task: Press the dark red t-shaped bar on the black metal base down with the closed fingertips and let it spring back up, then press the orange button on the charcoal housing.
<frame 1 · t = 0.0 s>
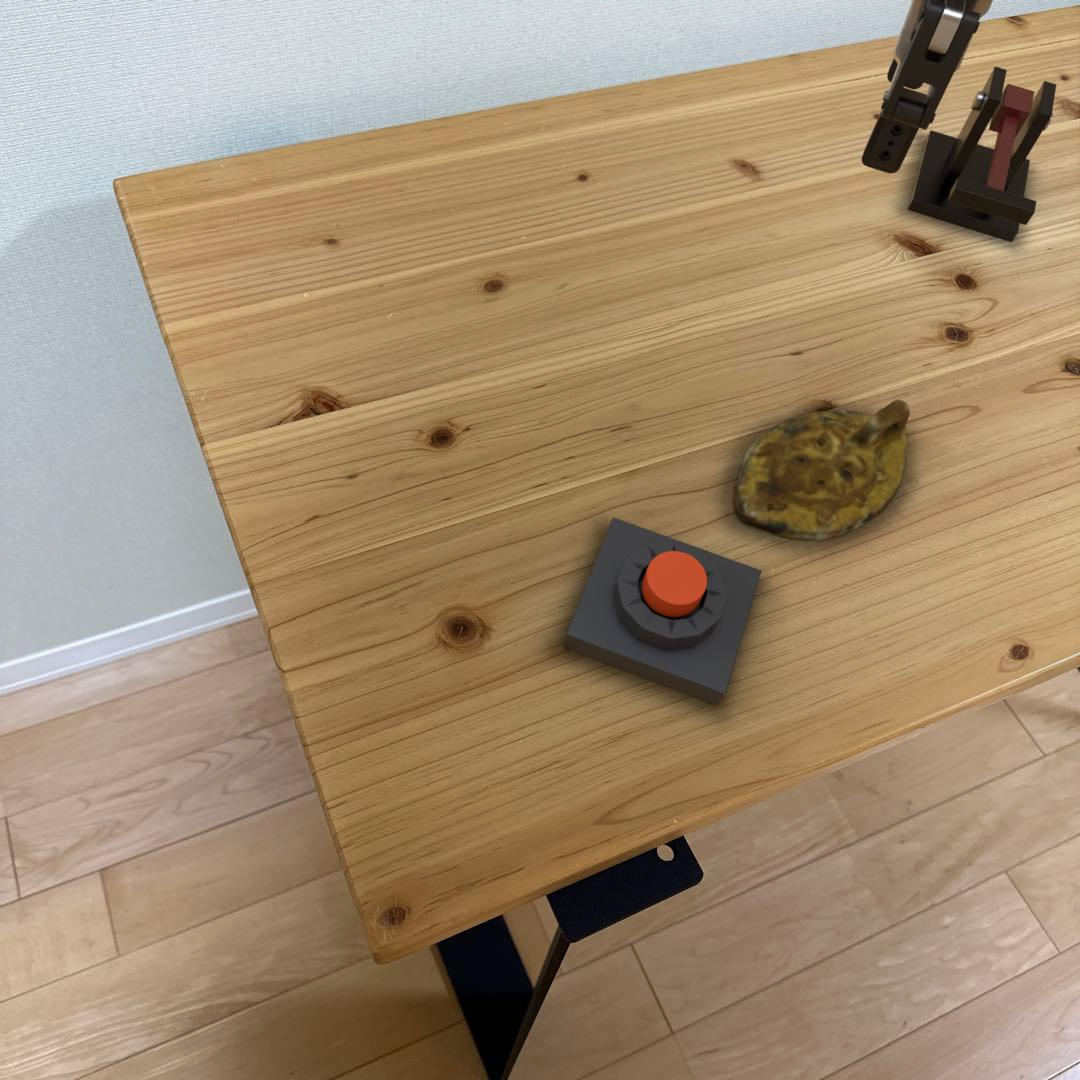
hand: (891, 122, 58), 19 cm above the table, tool pointing down, fingers open, 8 cm apart
button: (674, 584, 58), point 4 cm above the table, slide at 0.1 cm
olive oval piece: (818, 478, 69), on the table
dark red t-shaped bar: (1002, 151, 76), point 8 cm above the table, hinge at -2.7°
button box: (660, 616, 62), on the table
stapler base: (966, 191, 85), on the table
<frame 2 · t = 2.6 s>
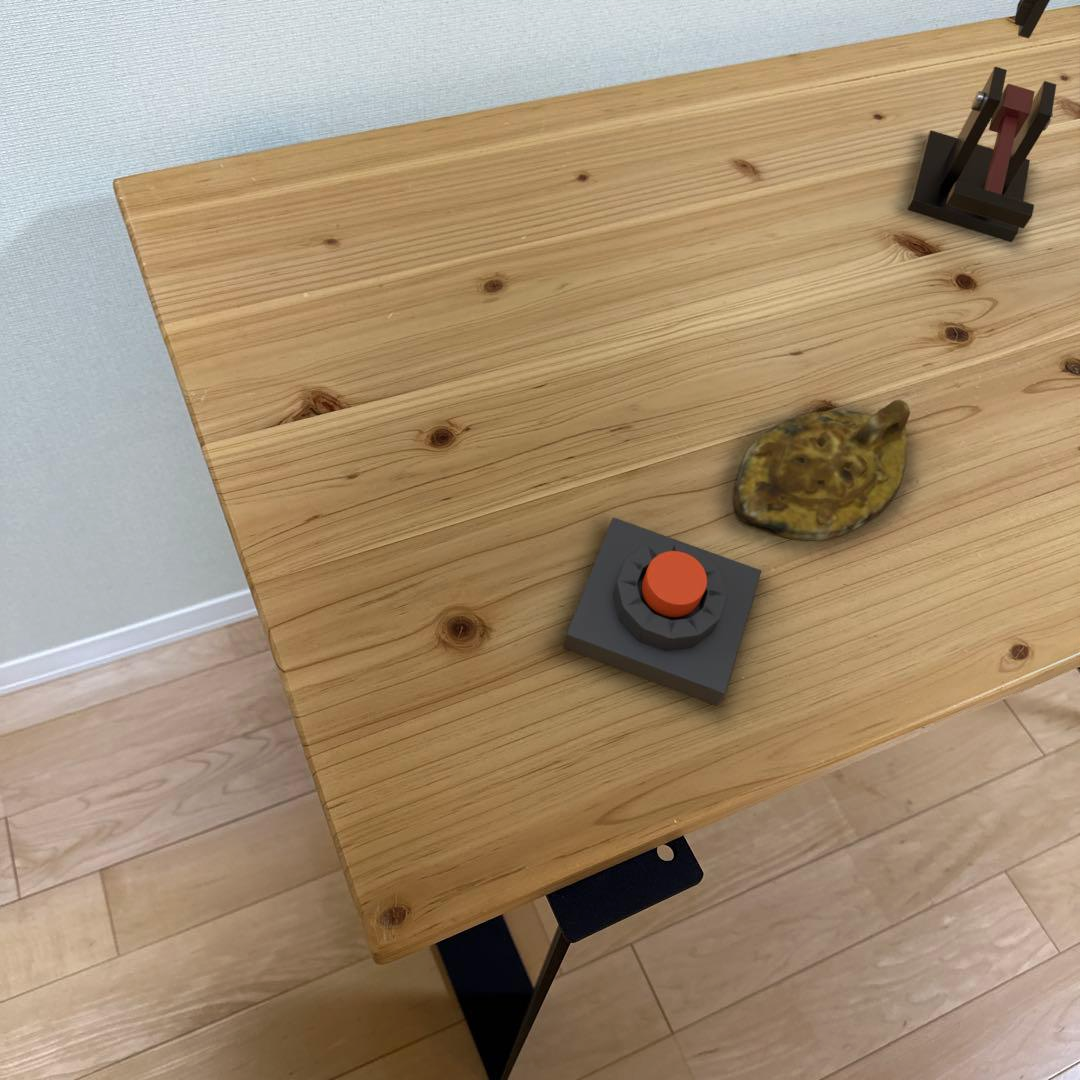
dark red t-shaped bar: (1001, 153, 76), point 8 cm above the table, hinge at -4.5°
everything else where it was.
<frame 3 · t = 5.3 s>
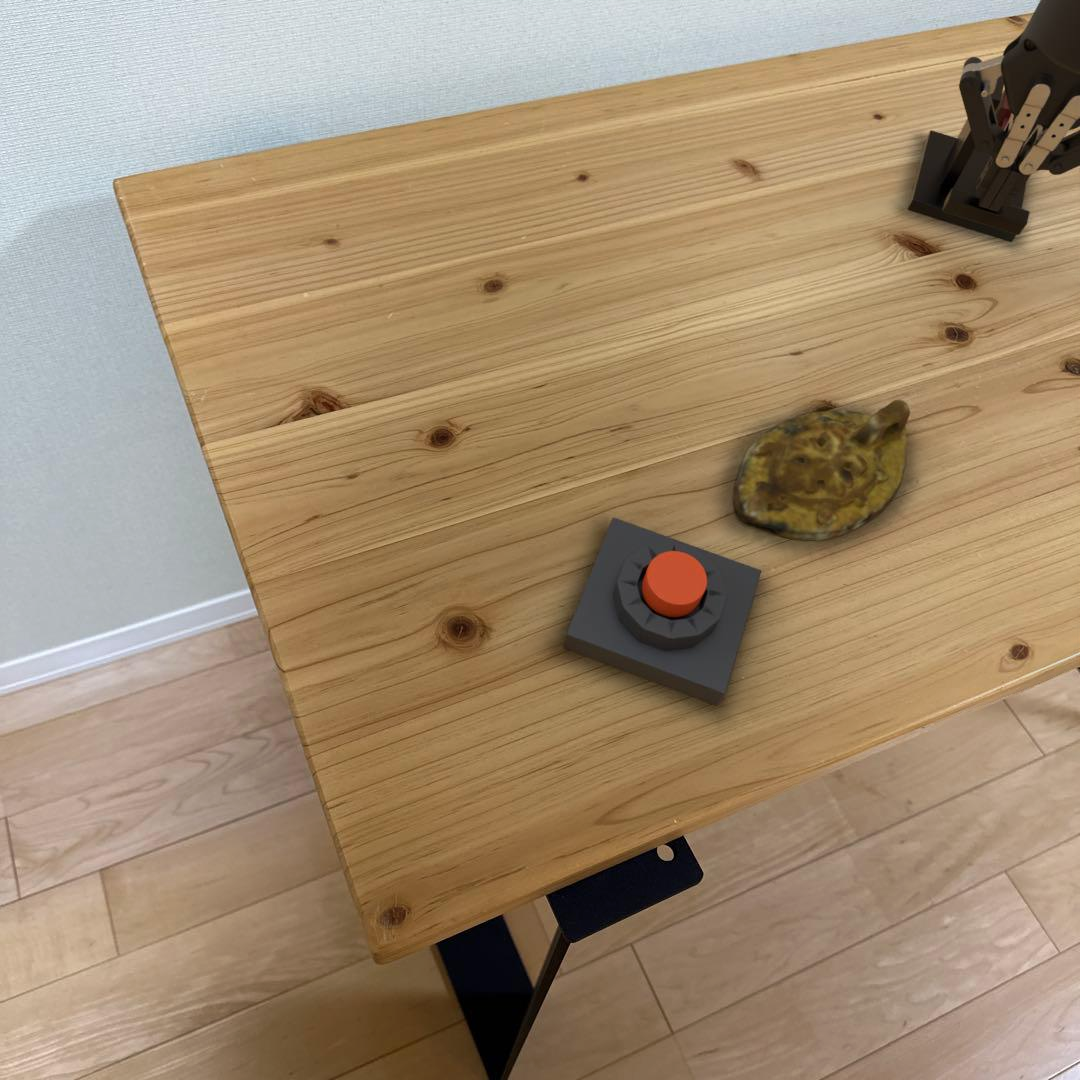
hand: (989, 202, 74), 7 cm above the table, tool pointing down, fingers closed
dark red t-shaped bar: (999, 156, 77), point 7 cm above the table, hinge at -8.2°, touching gripper
everything else where it was.
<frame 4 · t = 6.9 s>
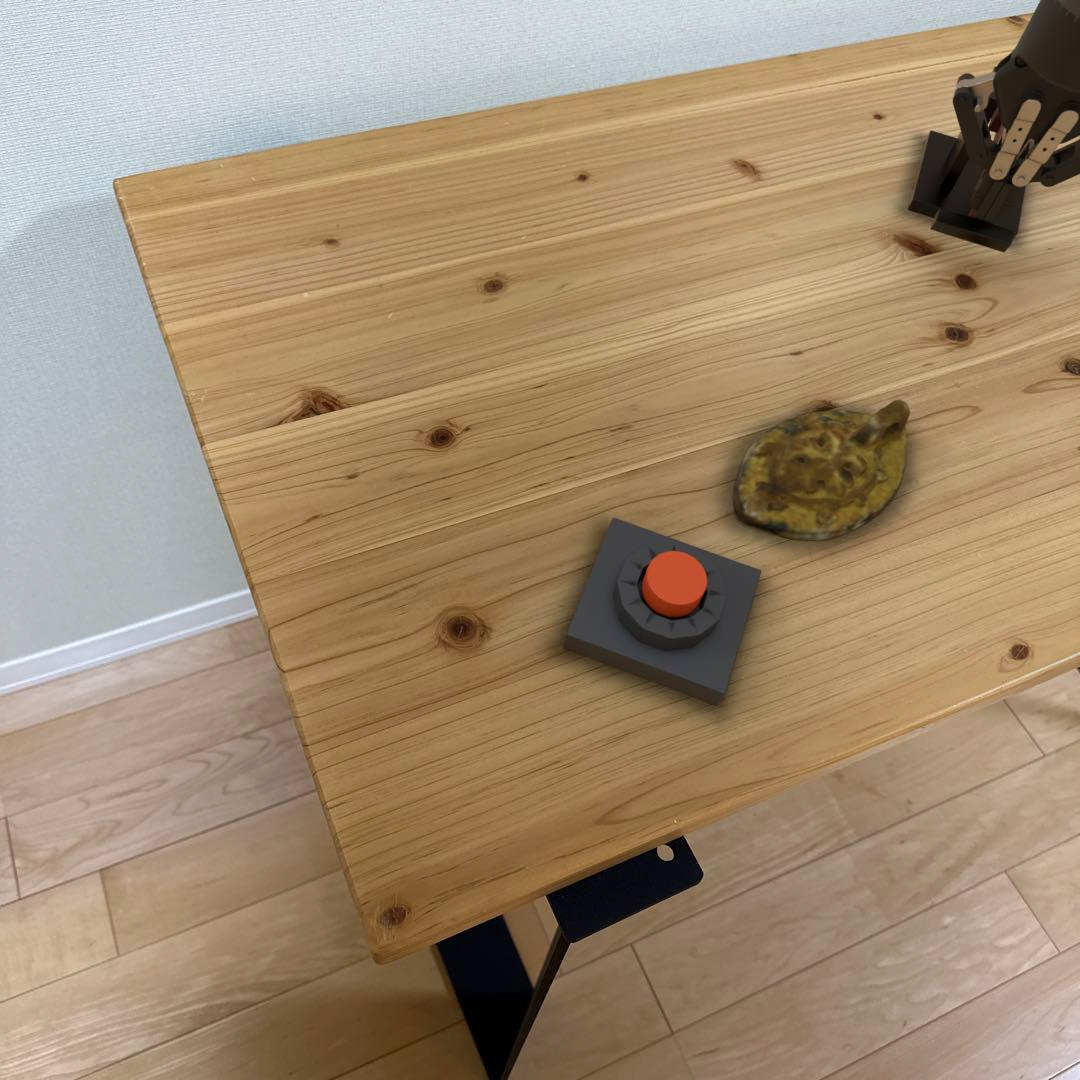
hand: (983, 213, 76), 5 cm above the table, tool pointing down, fingers closed
dark red t-shaped bar: (993, 165, 78), point 6 cm above the table, hinge at -20.7°
everything else where it was.
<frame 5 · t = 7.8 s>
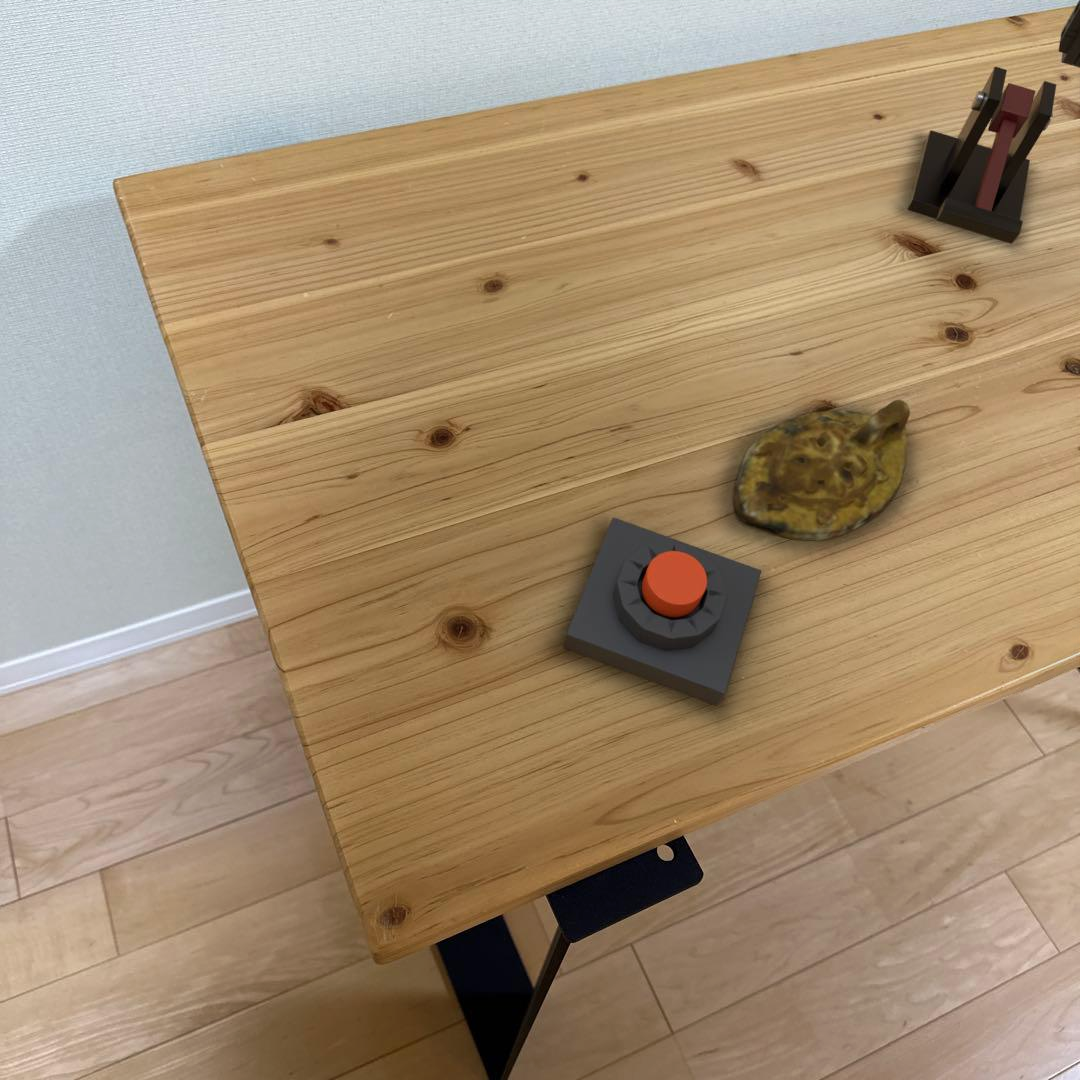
hand: (1073, 59, 65), 18 cm above the table, tool pointing down, fingers closed
dark red t-shaped bar: (996, 161, 77), point 7 cm above the table, hinge at -13.9°
everything else where it was.
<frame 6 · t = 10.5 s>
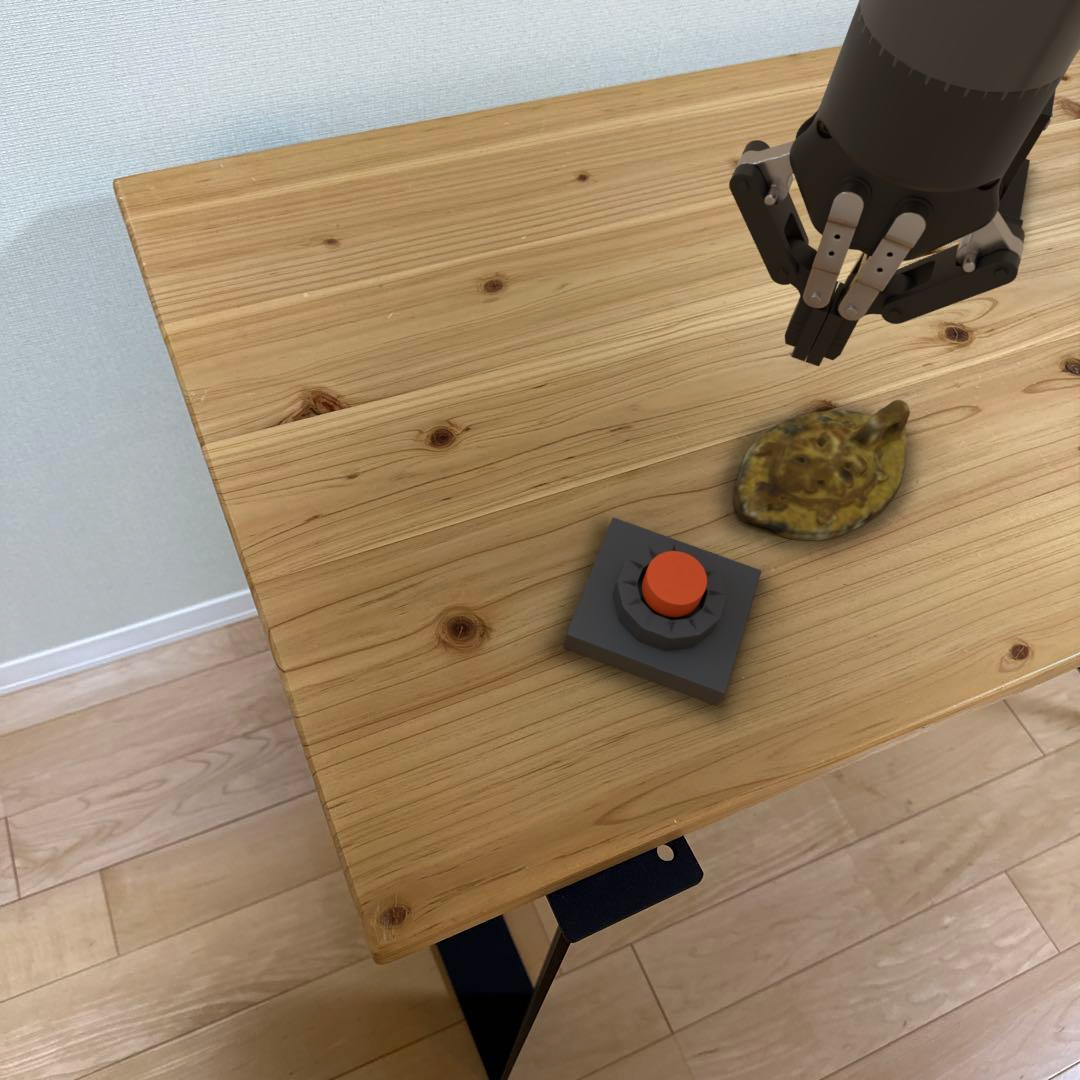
hand: (809, 350, 49), 19 cm above the table, tool pointing down, fingers closed
dark red t-shaped bar: (997, 160, 77), point 7 cm above the table, hinge at -13.6°
everything else where it was.
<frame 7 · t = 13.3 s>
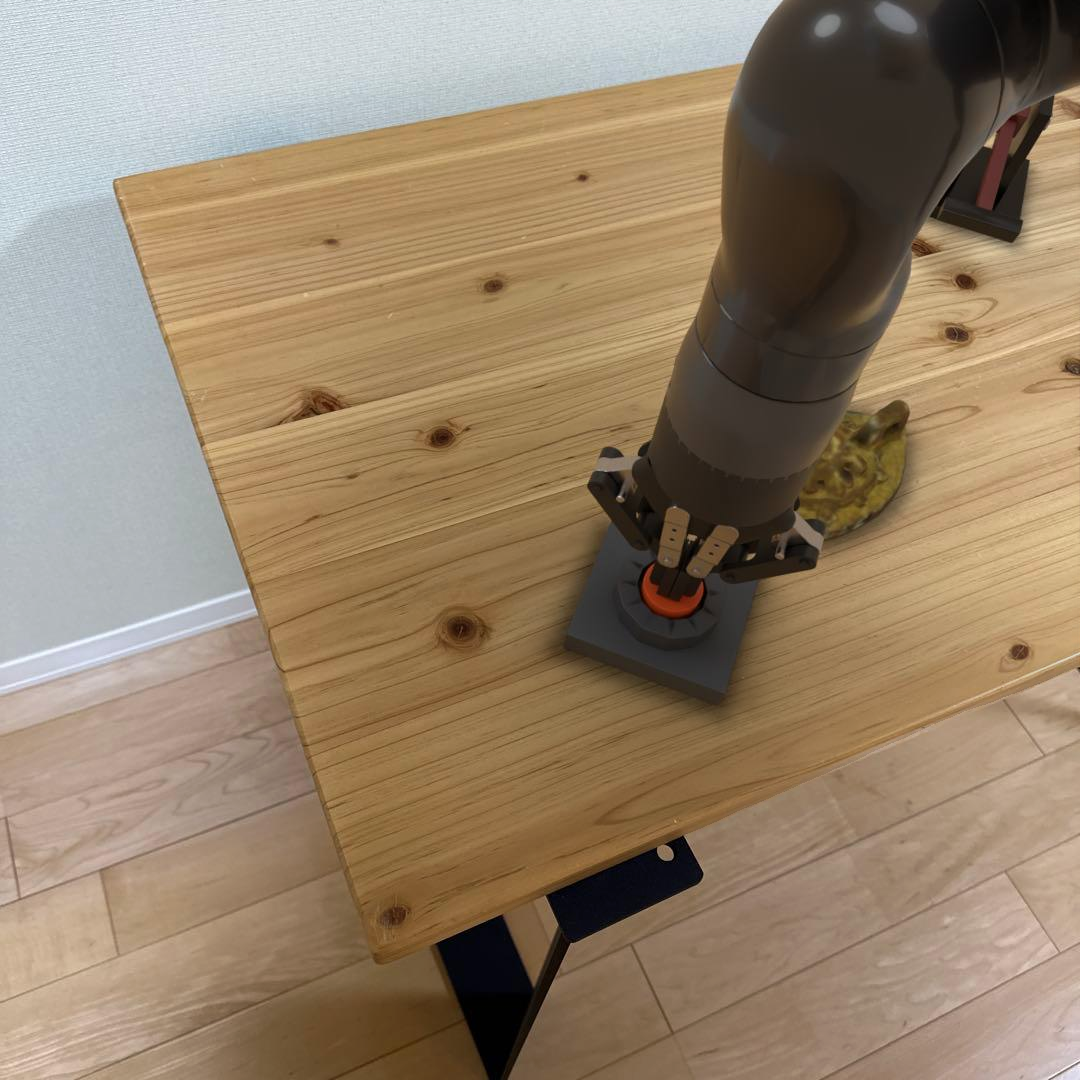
hand: (672, 585, 58), 4 cm above the table, tool pointing down, fingers closed
button: (670, 591, 59), point 4 cm above the table, slide at -0.9 cm, touching gripper
everything else where it was.
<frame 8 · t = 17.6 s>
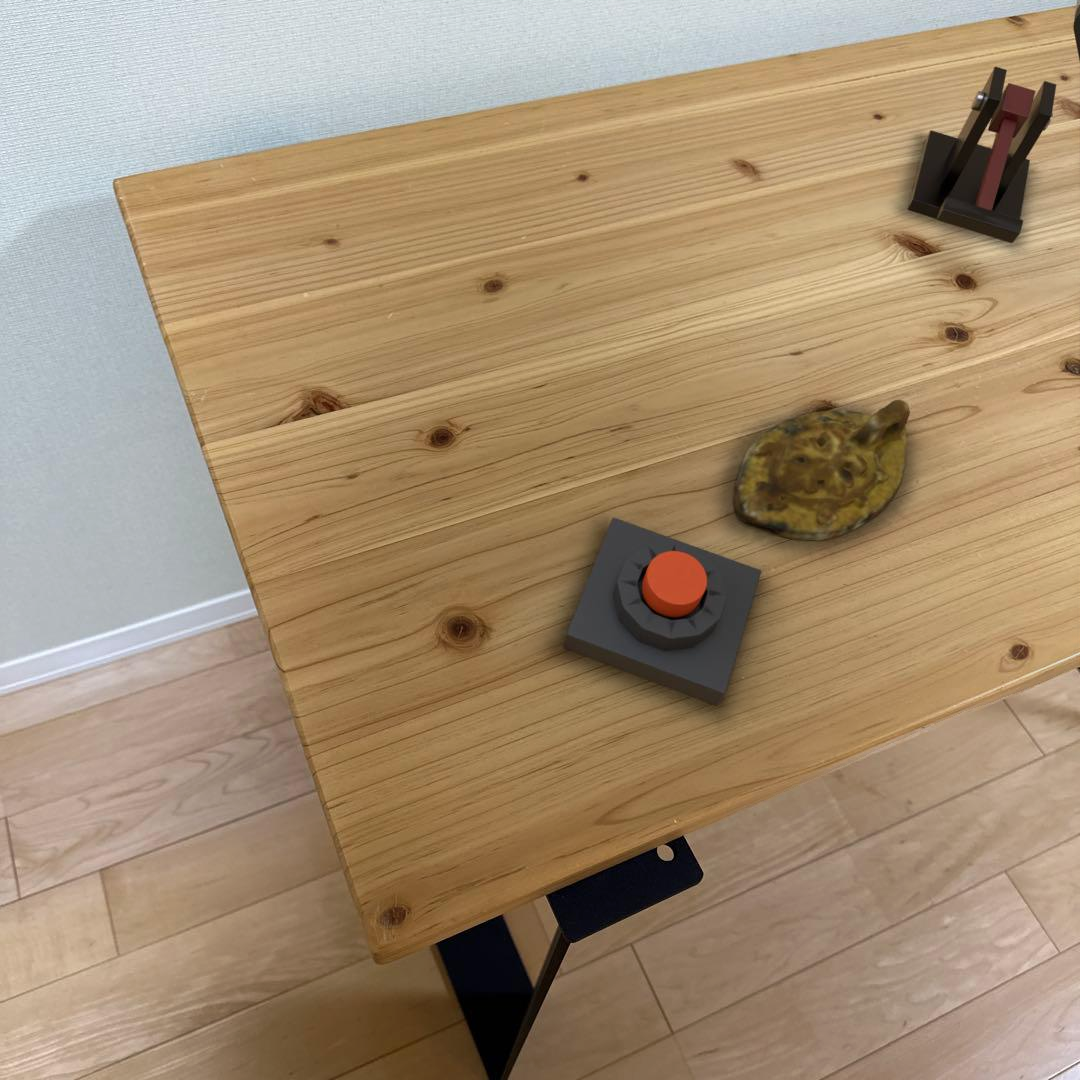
button: (674, 584, 58), point 4 cm above the table, slide at 0.1 cm
everything else where it was.
at the end: dark red t-shaped bar reached -25° during the clip, -14° at the end; dark red t-shaped bar at -14° (first picture: -3°); button pushed in 1.1 cm at the most during the clip, back to where it started at the end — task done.
